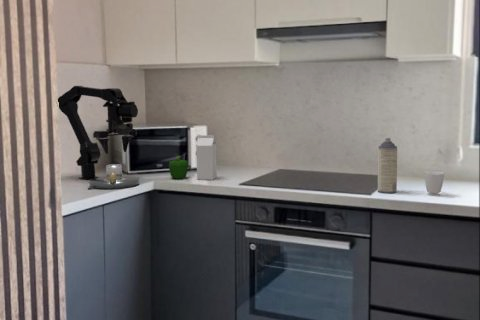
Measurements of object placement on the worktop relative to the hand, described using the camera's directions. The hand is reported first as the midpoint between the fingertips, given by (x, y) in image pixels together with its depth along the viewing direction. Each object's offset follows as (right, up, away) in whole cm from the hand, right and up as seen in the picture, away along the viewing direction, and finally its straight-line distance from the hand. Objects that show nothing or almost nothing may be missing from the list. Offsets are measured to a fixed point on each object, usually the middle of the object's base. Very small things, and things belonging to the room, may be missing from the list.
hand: (116, 152), depth 243 cm
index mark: (-6, -15, -20) cm, 26 cm away
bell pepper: (+27, -11, +3) cm, 30 cm away
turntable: (+2, -14, -12) cm, 18 cm away
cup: (+124, -16, -43) cm, 132 cm away
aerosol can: (+109, -15, -37) cm, 116 cm away
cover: (+2, -11, -12) cm, 17 cm away
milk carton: (+40, -11, 0) cm, 42 cm away
